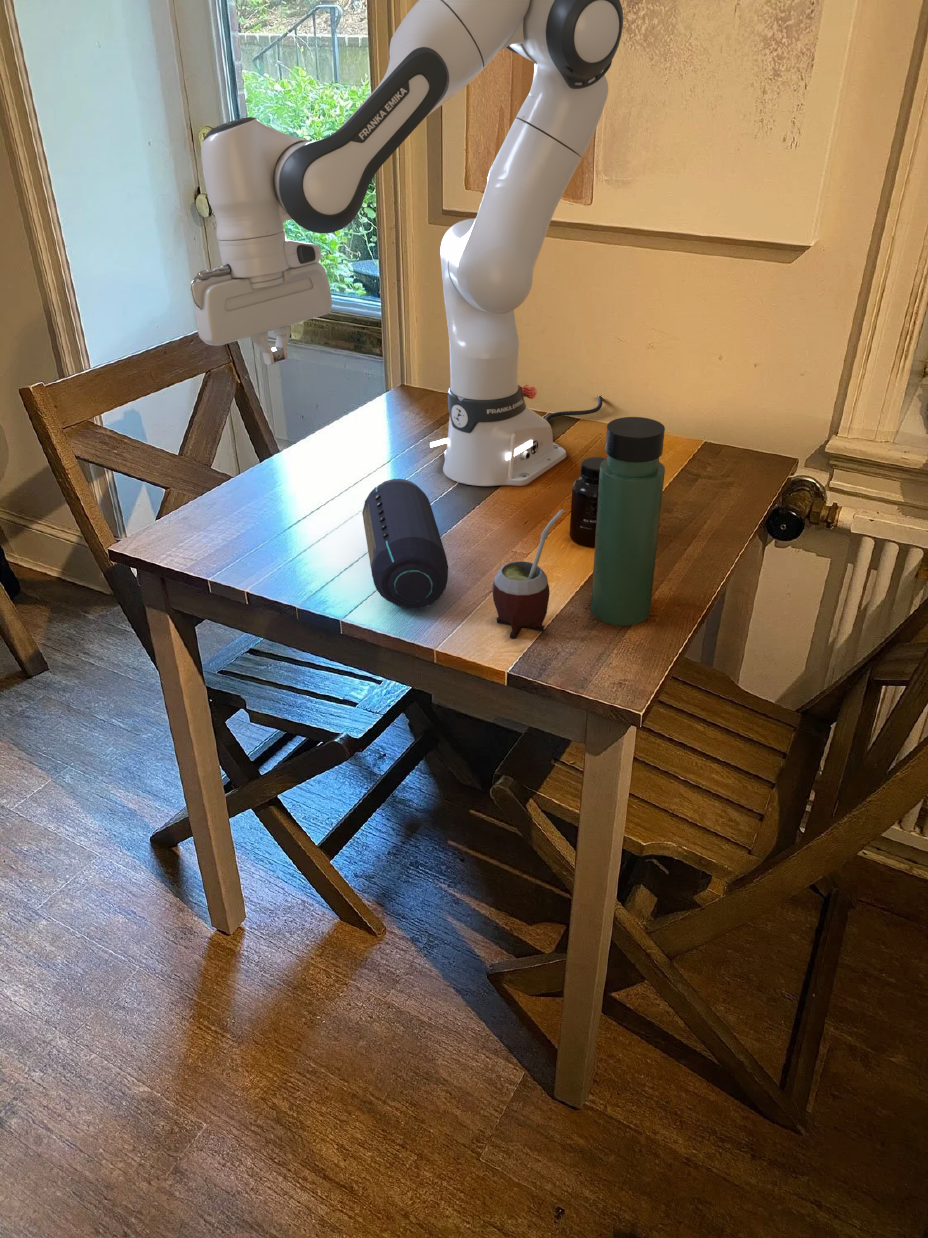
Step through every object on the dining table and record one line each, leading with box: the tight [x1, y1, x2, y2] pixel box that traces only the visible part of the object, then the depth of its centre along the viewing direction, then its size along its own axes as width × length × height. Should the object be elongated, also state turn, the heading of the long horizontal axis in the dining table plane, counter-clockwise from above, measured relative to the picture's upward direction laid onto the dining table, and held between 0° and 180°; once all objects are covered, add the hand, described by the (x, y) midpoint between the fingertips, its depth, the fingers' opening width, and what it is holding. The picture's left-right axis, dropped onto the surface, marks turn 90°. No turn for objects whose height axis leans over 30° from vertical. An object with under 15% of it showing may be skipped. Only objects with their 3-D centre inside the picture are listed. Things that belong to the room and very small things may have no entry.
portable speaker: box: [361, 478, 449, 610], centre depth 128 cm, size 25×10×10 cm, turn 9°
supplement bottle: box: [569, 456, 607, 549], centre depth 135 cm, size 7×7×12 cm
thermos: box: [590, 416, 666, 627], centre depth 115 cm, size 8×8×25 cm
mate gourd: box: [491, 508, 565, 640], centre depth 115 cm, size 8×8×15 cm
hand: (276, 362), depth 131 cm, fingers closed
